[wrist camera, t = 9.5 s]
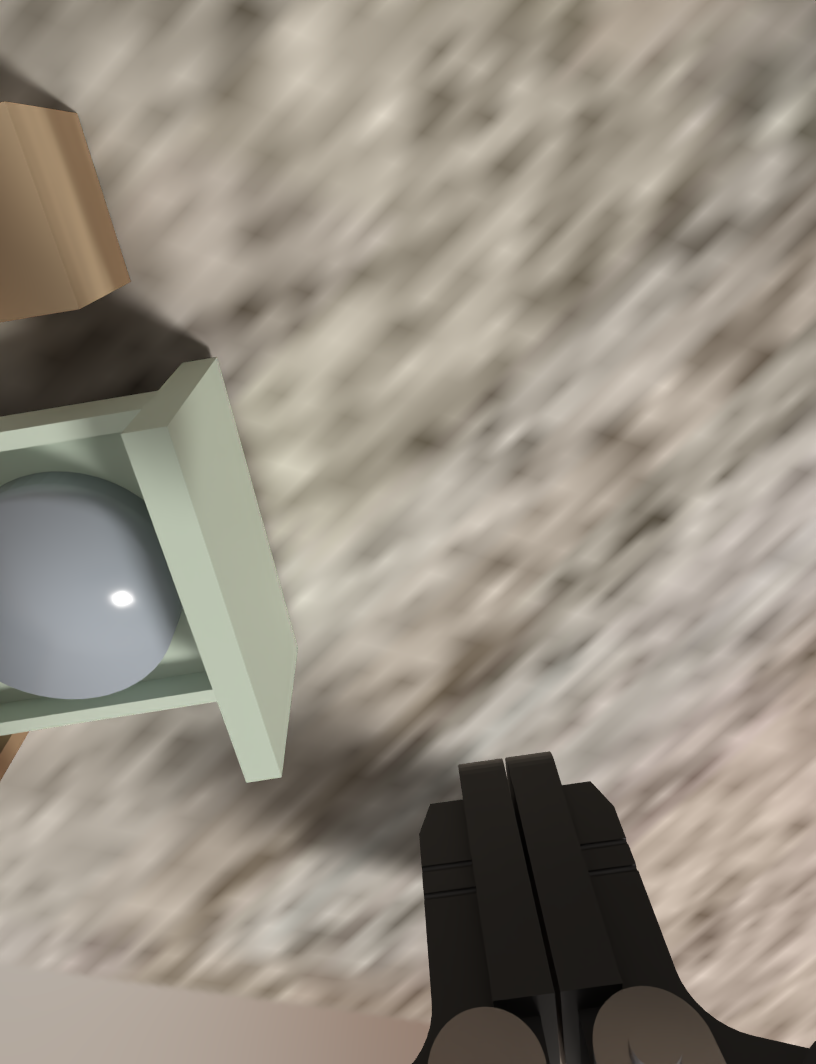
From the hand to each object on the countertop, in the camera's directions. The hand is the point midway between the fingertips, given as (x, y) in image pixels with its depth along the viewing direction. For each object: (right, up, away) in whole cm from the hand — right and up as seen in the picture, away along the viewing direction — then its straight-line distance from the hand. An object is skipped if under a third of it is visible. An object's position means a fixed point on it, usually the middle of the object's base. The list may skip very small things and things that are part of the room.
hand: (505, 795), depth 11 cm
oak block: (-11, +13, +7) cm, 18 cm away
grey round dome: (-11, +3, +10) cm, 15 cm away
